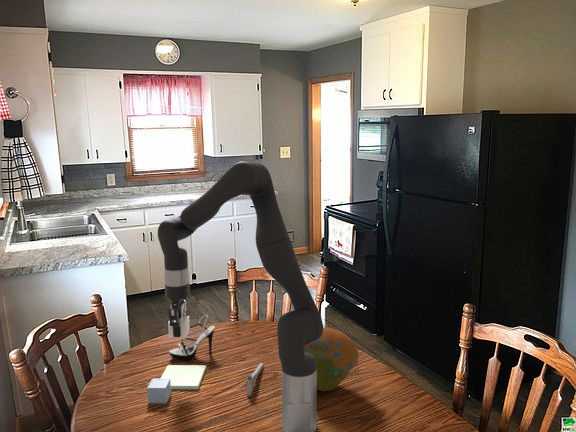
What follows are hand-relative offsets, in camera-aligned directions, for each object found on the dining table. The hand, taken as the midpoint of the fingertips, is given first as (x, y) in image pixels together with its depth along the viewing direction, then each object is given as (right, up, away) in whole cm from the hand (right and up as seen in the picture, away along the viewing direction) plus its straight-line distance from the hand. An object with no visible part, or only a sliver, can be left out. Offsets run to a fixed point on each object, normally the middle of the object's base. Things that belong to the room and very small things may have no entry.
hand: (179, 332), depth 154 cm
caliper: (+24, -16, +2) cm, 29 cm away
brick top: (-4, -18, -8) cm, 20 cm away
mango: (+46, -16, -3) cm, 49 cm away
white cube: (0, -1, 0) cm, 1 cm away
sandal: (+1, -13, +18) cm, 23 cm away
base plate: (0, -16, +3) cm, 16 cm away
